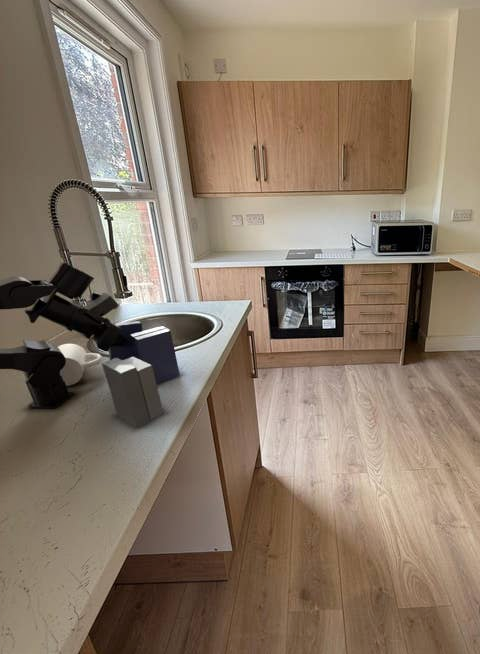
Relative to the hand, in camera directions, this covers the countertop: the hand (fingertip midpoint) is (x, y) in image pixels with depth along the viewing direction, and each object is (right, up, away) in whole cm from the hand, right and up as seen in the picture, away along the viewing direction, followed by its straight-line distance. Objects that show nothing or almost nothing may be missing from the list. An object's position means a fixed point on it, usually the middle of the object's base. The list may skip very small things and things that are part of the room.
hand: (129, 343), depth 92 cm
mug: (-14, -9, +2) cm, 17 cm away
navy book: (-1, -7, +2) cm, 8 cm away
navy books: (+8, -9, 0) cm, 12 cm away
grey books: (+11, -15, -15) cm, 24 cm away
